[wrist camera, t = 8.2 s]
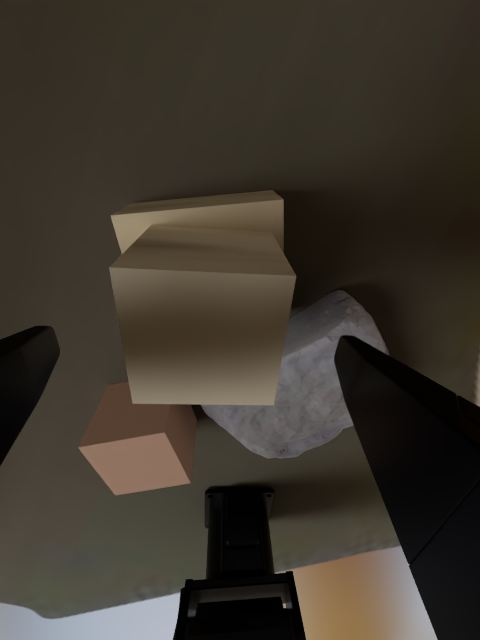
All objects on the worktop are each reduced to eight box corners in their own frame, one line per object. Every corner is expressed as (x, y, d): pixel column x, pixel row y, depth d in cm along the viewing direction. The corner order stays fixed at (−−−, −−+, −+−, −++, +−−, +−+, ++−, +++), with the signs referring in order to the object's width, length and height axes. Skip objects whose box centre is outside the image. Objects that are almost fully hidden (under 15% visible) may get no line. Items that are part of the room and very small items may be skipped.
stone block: (390, 353, 22) (339, 269, 17) (429, 406, 19) (382, 324, 13) (265, 417, 26) (187, 367, 20) (278, 473, 23) (188, 431, 17)
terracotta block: (197, 419, 23) (190, 483, 18) (136, 430, 23) (115, 495, 19) (177, 371, 20) (164, 432, 16) (109, 384, 20) (78, 447, 16)
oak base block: (274, 310, 18) (283, 342, 15) (163, 320, 18) (151, 354, 15) (271, 189, 15) (283, 199, 12) (134, 202, 15) (110, 215, 12)
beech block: (259, 330, 15) (273, 405, 10) (160, 327, 14) (132, 403, 10) (271, 231, 12) (296, 275, 8) (151, 224, 12) (108, 267, 8)
